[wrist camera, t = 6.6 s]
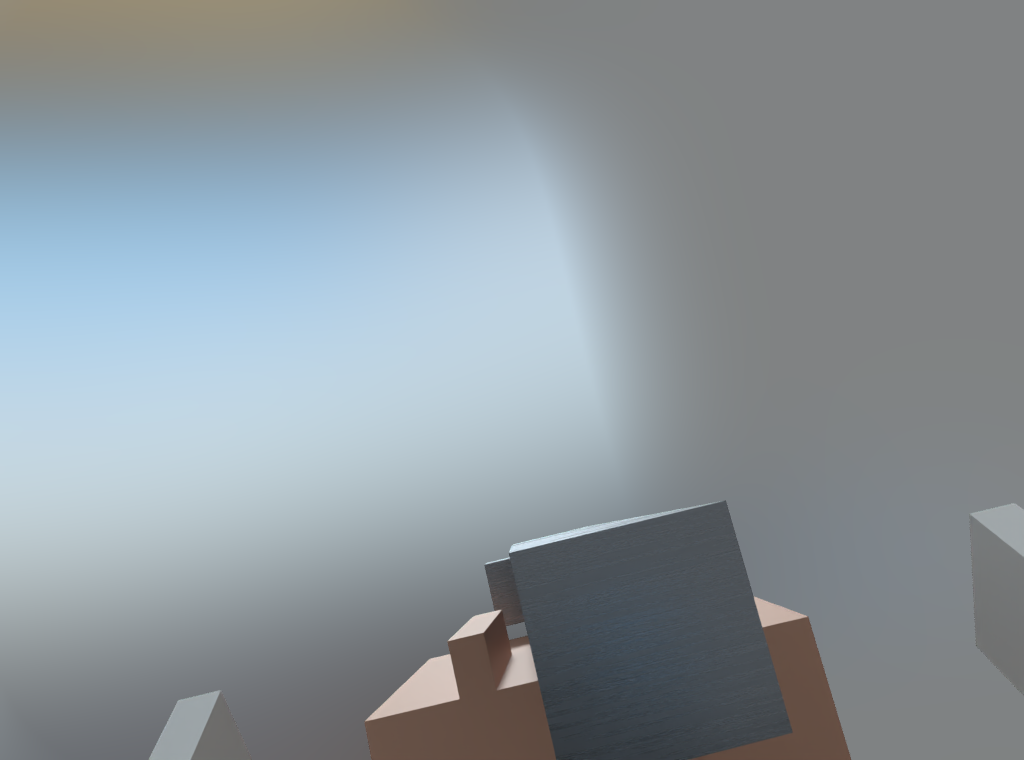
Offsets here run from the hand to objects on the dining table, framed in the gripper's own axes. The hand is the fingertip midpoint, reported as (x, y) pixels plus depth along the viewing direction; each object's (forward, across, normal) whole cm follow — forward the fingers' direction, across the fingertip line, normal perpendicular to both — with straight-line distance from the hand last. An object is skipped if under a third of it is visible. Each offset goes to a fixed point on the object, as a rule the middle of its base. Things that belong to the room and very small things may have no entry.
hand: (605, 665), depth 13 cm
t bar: (+7, 0, -6) cm, 9 cm away
